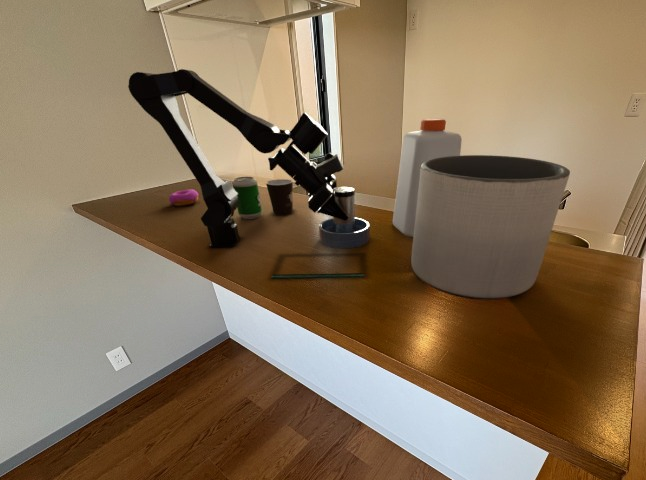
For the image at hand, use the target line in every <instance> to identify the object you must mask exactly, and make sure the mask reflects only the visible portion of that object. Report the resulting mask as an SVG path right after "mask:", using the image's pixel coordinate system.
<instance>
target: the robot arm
mask: <svg viewBox="0 0 646 480" xmlns="http://www.w3.org/2000/svg"><path fill="white" fill-rule="evenodd" d="M127 88H128V91H129V93H130V95H131V97H132V98H133V99H134V100H135V102H137V104H138V105H139V106H140V107H141V108H142V110H144V112H145V113H146V114H147V115H149V116H150V117H151V118H153V119H154V120H155V121H156V122H158V124H159V125H160V126H161V128H162V129H163V130H164V132H165V134H166V135H167V137H168V138H169V140H170V141H171V142H172V144H173V146H174V148H175V149H176V150H177V152H178V154H179V155H180V157H181V158H182V159H183V161H184V163H185V164H186V166H187V167H188V169H189V170H190V172H191V174H192V175H193V176H194V178H195V179H196V181H197V182H198V184H199V186H200V190H201V195H202V199H203V202H204V204H205V205H206V207H207V209H206V210H205V212H204V213H203V214H202V216H200V221H201V223H202V224H203V225H204V227H206V229H207V232H208V236H209V239H210V243H209V244H208V247H209V248H232V247H235V246H236V244H237V243H238V242H239V241H240V239H241V236H240V233H239V229H238V225H237V224H236V223H235V219H234V217H233V216H234V214H235V211H236V210H237V209H238V208H237V207H238V203H239V200H238V197H237V195H238V193H237V192H236V191H235V190H234V188H233V184H232V181H230V179H227V180H226V181H224V180H223V179H222V178H220V177H219V176H218V175H217V173H216V172H215V170H214V168H213V167H212V165H211V164H210V161H209V160H208V158H207V157H206V155H205V154H204V152H203V150H202V149H201V147H200V146H199V144H198V142H197V141H196V138H194V136H193V134H192V132H191V131H190V129H189V127H188V126H187V124H186V123H185V121H184V120H183V118H182V116H181V113H180V108H179V104H178V101H177V98H176V97H181V96H183V95H187V94H188V95H189V96H191V97H192V98H193V99H195V100H196V101H198V102H199V103H200V104H201V105H204V106H205V107H206V108H207V109H209V110H210V111H212V112H213V113H215V114H216V115H217V116H219V117H220V118H221V119H223V120H225V121H226V122H227V123H229V124H230V125H231V126H233V127H235V129H237V130H238V132H239V133H240V134H241V135H242V136H243V137H244V139H245V140H246V141H247V142H248V143H249V144H250V145H251V146H252V147H254V149H255V150H256V151H258V152H259V153H261V154H271V153H272V152H274V151H275V150H277V149H278V148H279V147H280V146H283V145H285V144H286V143H288V142H290V141H291V140H292V141H291V142H290V143H289V144H288V146H287V147H285V148H284V147H280V148H279V150H278V151H277V152H276V154H275V155H274V156H269V157H268V158H267V160H268V163H269V164H268V165H269V170H270V171H273V170H275V168H277V166H278V167H279V168H280V169H282V170H283V172H285V173H286V174H287V175H288V176H289V177H290V178H291V179H292V180H294V181H295V182H294V184H295V185H296V186H297V187H299V186H300V187H301V188H302V189H303V190H305V191H306V192H307V193H308V194H307V196H308V197H309V198H308V201H307V204H308V205H307V206H308V208H309V210H311V211H312V212H313V213H314V214H316V213H317V214H322V215H327V216H330V217H332V218H333V217H336V218H339V219H342V220H345V221H346V220H347V219H348V216H347V215H346V213H345V212H344V211H343V209H342V208H341V207H340V206H339V204H338V203H337V202H336V200H335V191H334V192H333V190H332V189H333V188H336V187H338V181H337V179H336V175H334V174H337V173H340V172H342V171H343V170H344V164H343V162H342V160H341V158H340V155H339V154H338V153H336V154H334V153H332V152H328V153H326V154H324V161H322V162H320V163H318V164H317V163H316V162H315V161H310V160H309V159H308V158H307V157H305V155H307V154H308V153H309V154H311V155H313V154H314V153H315V151H317V149H318V148H319V146H320V145H321V144H322V143H323V142H324V140H325V139H326V138H327V137H328V136H329V134H328V132H327V131H326V130H325V128H323V126H322V125H321V123H319V122H318V121H316V120H315V119H313V118H312V117H311V116H310V115H308V113H307V112H302V114H301V115H300V116H299V119H298V121H297V122H296V123H295V125H294V126H293V127H292V128H291V129H290V130H289V129H286V130H285V129H279V128H278V127H277V125H275V124H273V123H272V122H270V121H267V120H265V119H264V118H261V117H260V116H256V115H254V114H252V113H250V112H248V111H247V110H245V109H244V108H242V107H241V106H239V104H237V103H236V102H234V101H233V100H232V99H230V98H229V97H227V96H226V95H225V94H223V93H222V92H221V91H219V90H218V89H217V88H215V87H214V86H212V85H211V84H210V83H209V82H208V81H206V80H205V79H203V78H202V77H200V76H199V74H198V73H197V72H195V71H193V70H191V69H183V68H181V69H178V70H175V71H171V72H170V71H169V72H162V73H150V72H149V73H148V72H142V71H136V72H133V73H132V74H131V75H130V76H129V79H128V85H127ZM332 181H333V182H332Z"/></svg>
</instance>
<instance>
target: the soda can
mask: <svg viewBox="0 0 646 480" xmlns="http://www.w3.org/2000/svg"><path fill="white" fill-rule="evenodd" d="M231 184H232V186H233V188H234V190H235V191H236V192H237V193H238V195H237V197H238V200H239V203H238V207H237V208H236V209H237V214H238V215H239V216H240V217H241V218H242V219H243V220H255V219H257V218H260V217H261V215H262V213H263V209H262V203H261V198H260V192H259V185H258V181H257V179H255V178H254V177H253V176H239V177H236V178H234V180H233V181H232V182H231Z"/></svg>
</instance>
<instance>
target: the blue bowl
mask: <svg viewBox="0 0 646 480" xmlns="http://www.w3.org/2000/svg"><path fill="white" fill-rule="evenodd" d="M318 232H319V234H318V235H319V242H320V243H321V244H322V245H323V246H326V247H328V248H332V249H339V250H340V249H343V250H344V249H346V250H347V249H354V248H359V247H362V246H364V245H366V244H368V242H369V241H370V223H369V221H367V220H365V219H363V218H359V217H355V232H352V233H334V224H333V217H332V218H328V219H325V220H323V221H321V222H320V223H319V225H318Z"/></svg>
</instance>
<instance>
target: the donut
mask: <svg viewBox="0 0 646 480" xmlns="http://www.w3.org/2000/svg"><path fill="white" fill-rule="evenodd" d="M199 196H200V195H199V192H197V190H195V189H192V188H191V189H183V190H179V191H175V192H173V193H171V194H170V195H169V196H168V200H169V202H170V204H171V205H173V206H175V207H183V206H188V205H193V204H196V203H197V202H198V200H199Z"/></svg>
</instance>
